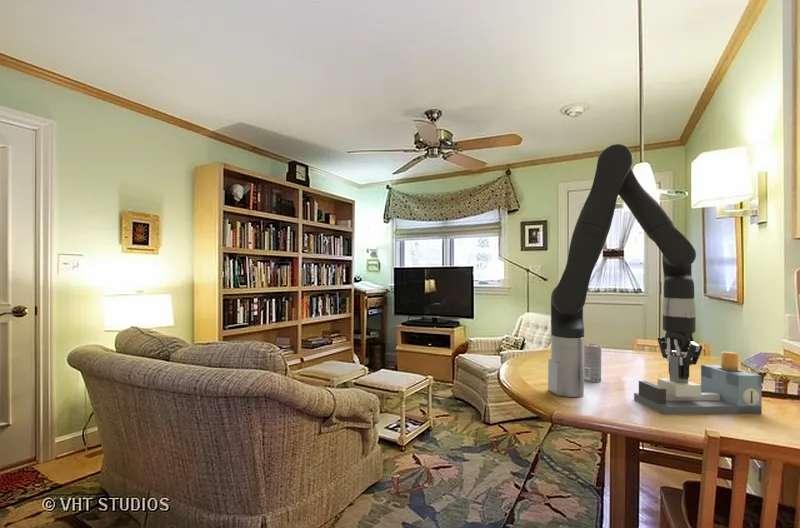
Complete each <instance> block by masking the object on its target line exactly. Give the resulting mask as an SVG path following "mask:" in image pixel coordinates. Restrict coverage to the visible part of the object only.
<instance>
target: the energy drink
mask: <svg viewBox="0 0 800 528" xmlns="http://www.w3.org/2000/svg"><path fill="white" fill-rule="evenodd" d="M584 381H585V382H590V383H601V382H602V346H601V344H595V343H584Z"/></svg>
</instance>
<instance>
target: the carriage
mask: <svg viewBox="0 0 800 528" xmlns="http://www.w3.org/2000/svg"><path fill="white" fill-rule="evenodd" d="M685 358H686V357H685V356H684V360H685ZM679 365H680V363H679V357H678V356H677V355H674V354H673V355H670V375H669V377H668V378H667V377H665V378H663V377H662V378H657V386H660V387H662V388H665V389H666V393H668V394H671V395H673V396H676V397H701V384H699V383H695V382H693V381H689V378H688V379H680V378H679Z"/></svg>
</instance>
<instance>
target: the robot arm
mask: <svg viewBox="0 0 800 528" xmlns="http://www.w3.org/2000/svg"><path fill="white" fill-rule="evenodd" d="M633 163H634V156H633V153H632V151H631V150H630V148H629V147H628V146H626V145H624V144H621V143H620V144H619V143H616V144H612V145H609V146H607V147H606V148H604V149H603V150H602V151H601V153H600V154H599V155H598V158H597V162H596V170H595V174H594V178H593V181H592V184H591V185H592V186H591V189H590V191H589V194H588V196H587V197H586V200H585V202H584V204H583V207H582V208H581V210H580V213H579V215H578V218H577V220H576V224H575V226H574V229H573V233H572V236H571V238H570V243H569V249H568V255H567V259H566V260H567V261H566V264H565V268H564V270H563V273H562V275H561V278H560V280H559V281H558V284H557V286H555V287H554V289H553V290H552V292H551V296H550V298H551V299H550V332H551V333H550V334H551V335H550V336H551V338H550V339H551V342H550V343H551V345H550V347H551V348H550V350H551V351H550V358H549V359H548V363H547V366H548V367H547V369H548V370H547V373H548V375H547V376H548V377H547V380H548V381H547V384H548V385H547V391H549V392H551V393H553V394H554V395H555V396H559V397H560V396H562V397H568V398H579V397H583V396H584V394H585V393H584V392H585V391H584V390H585V384H584V383H585V382H584V381H585V379H584V346H585V326H584V307H585V304H586V300H587V294H588V291H589V290H588V289H589V285H590V281H591V277H592V274H593V271H594V269H595V267H596V265H597V263H598V261H599V258H600V256H601V253H602V251H603V249H604V246H605V243H606V241H607V238H608V235H609V233H610V230H611V227H612V222H613V218H614V214H615V209H616V205H617V199H618V196H619V197H620V199H621V200H622V201H623V203H625V205H626V206H627V208H628V209H629V211H630V212H631V214H632V215H633V216H634V218H635V220H636V221H637V223H638V224H639V225H640V227H641V228H642V230H643V231H644V233H645V234H646V235H647V237H648V238H649V239H650V240H651V241H652V242H654V243H655V245H656V246H657V248H658V249H659V251H660V252H661V253H662V256H661V257H662V260H661V261H662V270H663V280H664V281H663V300H662V331H664V332H665V334H664V336H659V337H657V342H658V345H659V350H660V351H661V355H662V356H661V357H662V358H663V359H666V361H667V362H668V375H669V376H670V355H677V356H678V357H679V363H680V365H679V378H680V379H688V380H689V379H690V366H692V365H694V366H695V365H697V363H698V361H699V358H700V356H701V352H702V350H703V345H701V344H697V343H696V342H695V341H694V337H693V334H694V333H695V332H696V328H697V327H696V326H697V325H696V323H697V322H696V309H697V308H696V301H695V281H694V279H693V278H692V265H693V263H694V262H695V260H696V258H697V252H696V250H695V249H696V248H695V247H694V245H693V244H692V243H691V242H690V240H689V239H688V238H687V237H686V236H685V235H684V234H683V233H682V231H680V229H678V228H677V226H676V225H675V224H674V222H673V220H672V219H671V217H670V216H669V215H668V213H667V212H666V211H665V209H664V207H662V205H661V204H660V202H658V201H657V200H656V199H655V198H654V197H653V196H652V195H650V193H648V192H647V190H646V189H645V188H644V187H643V186H642V185H641V183H640V182H639V180H638V179H637V176H636V175H635V173H634V171H633V169H632V166H633ZM684 356H685V357H686V358H685V360H684Z"/></svg>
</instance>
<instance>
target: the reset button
mask: <svg viewBox="0 0 800 528" xmlns="http://www.w3.org/2000/svg"><path fill="white" fill-rule="evenodd" d="M720 352H721V355H720V356H721V357H720V358H721V361H720V362H721V364H720V365H721V368H722V369H726V370H735V371H736V370H738V369H739V353H738V352H734V351H720Z"/></svg>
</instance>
